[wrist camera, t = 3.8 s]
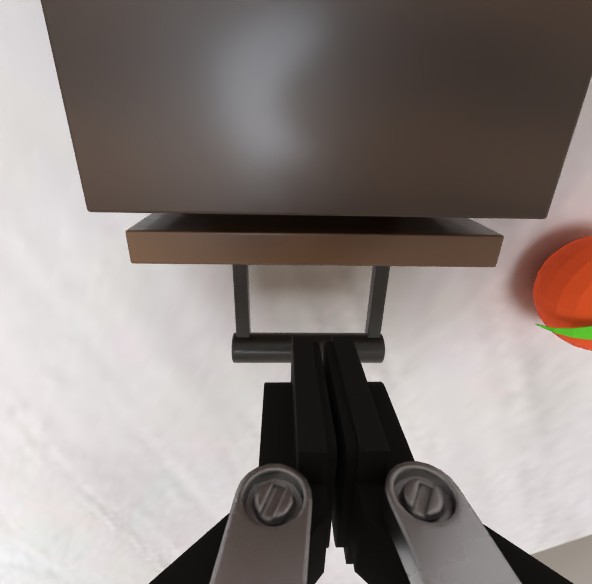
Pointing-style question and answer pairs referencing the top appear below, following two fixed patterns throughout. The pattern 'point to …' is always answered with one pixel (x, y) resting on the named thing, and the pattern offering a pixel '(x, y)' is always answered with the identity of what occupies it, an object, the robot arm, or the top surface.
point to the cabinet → (322, 104)
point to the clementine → (567, 293)
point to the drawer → (310, 259)
